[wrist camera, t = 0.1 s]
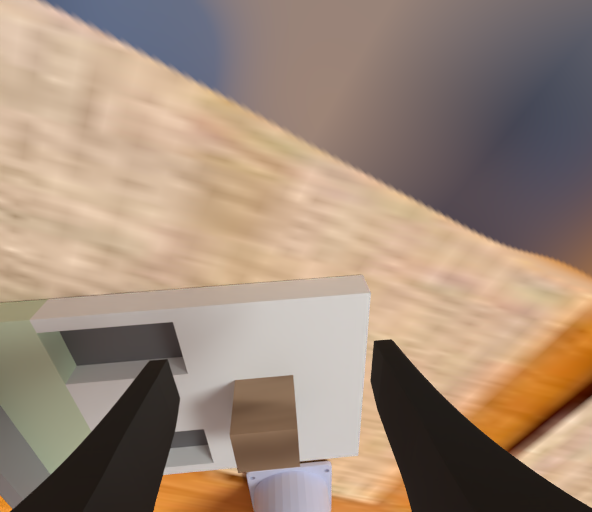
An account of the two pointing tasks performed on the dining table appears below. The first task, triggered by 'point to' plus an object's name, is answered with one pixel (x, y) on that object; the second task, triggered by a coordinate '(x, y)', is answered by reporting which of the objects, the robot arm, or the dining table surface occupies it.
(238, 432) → the walnut block
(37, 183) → the dining table surface
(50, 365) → the board
